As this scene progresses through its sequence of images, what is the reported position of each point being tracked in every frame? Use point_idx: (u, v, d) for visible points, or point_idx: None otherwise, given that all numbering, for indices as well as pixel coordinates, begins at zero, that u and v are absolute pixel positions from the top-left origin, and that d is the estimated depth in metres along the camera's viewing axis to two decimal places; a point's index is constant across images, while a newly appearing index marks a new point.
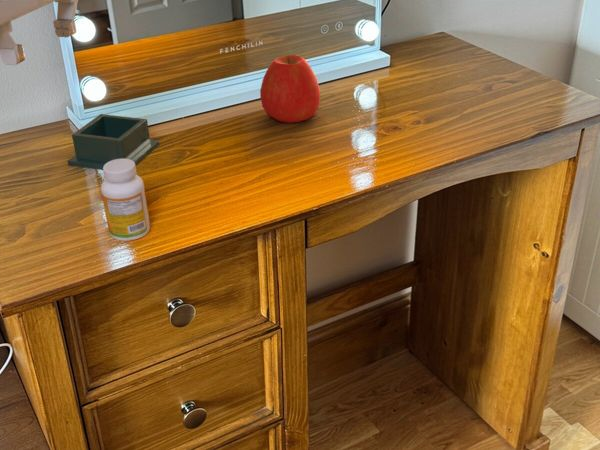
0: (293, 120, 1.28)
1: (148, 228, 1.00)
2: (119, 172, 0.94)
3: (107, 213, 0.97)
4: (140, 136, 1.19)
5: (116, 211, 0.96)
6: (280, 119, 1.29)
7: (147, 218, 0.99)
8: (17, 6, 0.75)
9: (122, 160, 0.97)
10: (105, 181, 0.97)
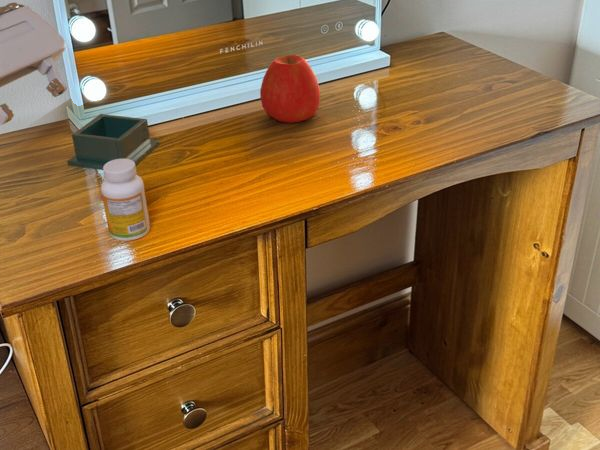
0: (293, 120, 1.28)
1: (148, 228, 1.00)
2: (119, 172, 0.94)
3: (107, 213, 0.97)
4: (140, 136, 1.19)
5: (116, 211, 0.96)
6: (280, 119, 1.29)
7: (147, 218, 0.99)
8: None
9: (122, 160, 0.97)
10: (105, 181, 0.97)
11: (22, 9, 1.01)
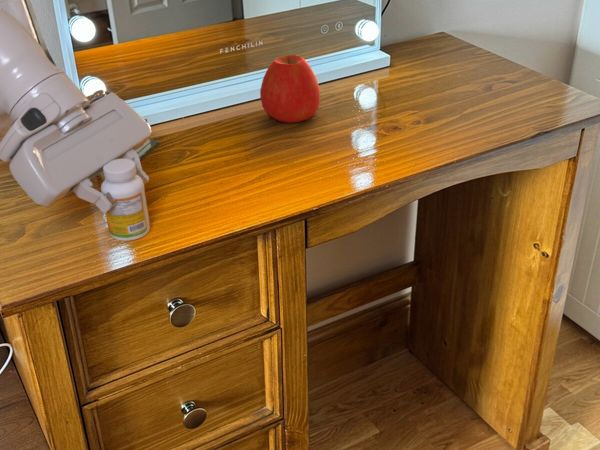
0: (293, 120, 1.28)
1: (148, 228, 1.00)
2: (119, 172, 0.94)
3: (107, 213, 0.97)
4: None
5: (116, 211, 0.96)
6: (280, 119, 1.29)
7: (147, 218, 0.99)
8: (78, 169, 0.93)
9: (122, 160, 0.97)
10: (105, 181, 0.97)
11: (110, 97, 1.01)
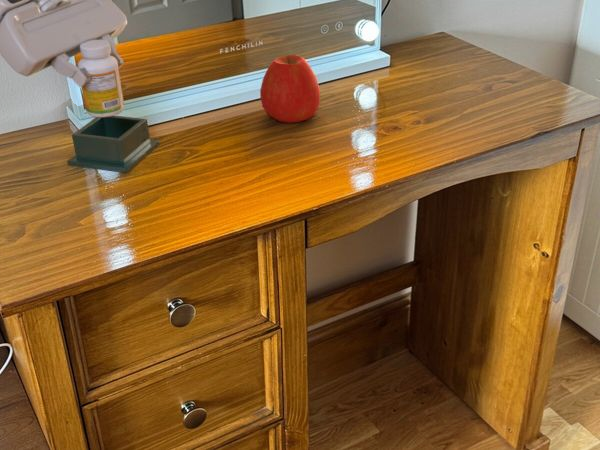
0: (293, 120, 1.28)
1: (122, 107, 1.08)
2: (94, 48, 1.02)
3: (83, 90, 1.05)
4: (140, 136, 1.19)
5: (91, 86, 1.04)
6: (280, 119, 1.29)
7: (121, 97, 1.07)
8: (56, 43, 1.00)
9: (98, 40, 1.05)
10: (82, 59, 1.05)
11: None
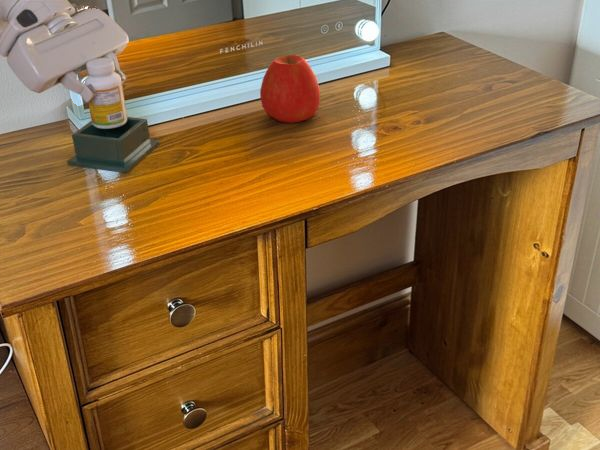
0: (293, 120, 1.28)
1: (125, 119, 1.17)
2: (100, 66, 1.12)
3: (90, 104, 1.15)
4: (140, 136, 1.19)
5: (97, 101, 1.14)
6: (280, 119, 1.29)
7: (124, 110, 1.17)
8: (65, 63, 1.10)
9: (103, 59, 1.14)
10: (88, 76, 1.14)
11: (93, 9, 1.19)
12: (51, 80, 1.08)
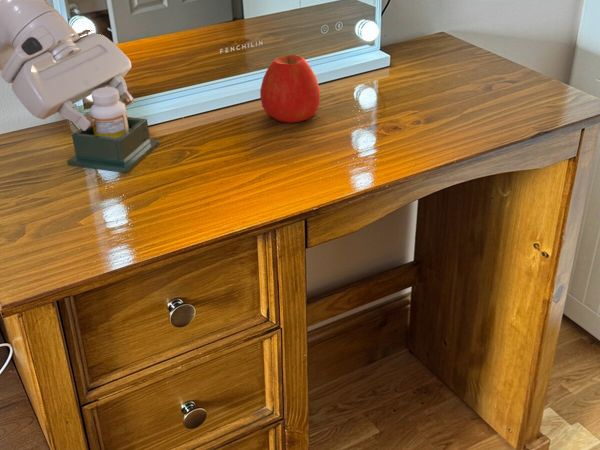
0: (293, 120, 1.28)
1: None
2: (105, 96, 1.14)
3: (95, 132, 1.17)
4: (140, 136, 1.19)
5: (102, 129, 1.16)
6: (280, 119, 1.29)
7: None
8: (68, 89, 1.12)
9: (107, 88, 1.17)
10: (93, 105, 1.16)
11: (96, 35, 1.21)
12: (55, 107, 1.10)
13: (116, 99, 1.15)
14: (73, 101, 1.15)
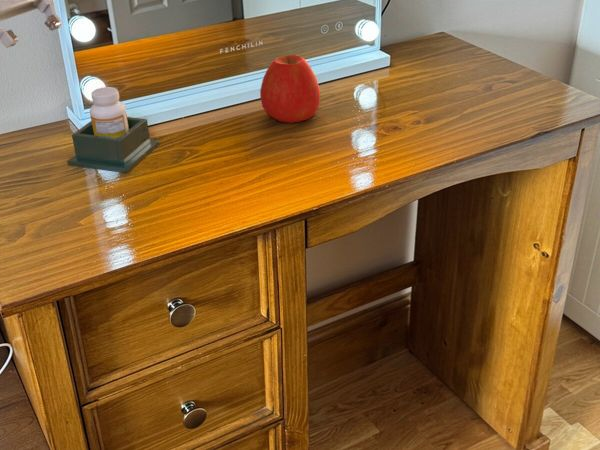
0: (293, 120, 1.28)
1: None
2: (105, 96, 1.14)
3: (95, 132, 1.17)
4: (140, 136, 1.19)
5: (102, 129, 1.16)
6: (280, 119, 1.29)
7: None
8: None
9: (107, 88, 1.17)
10: (93, 105, 1.16)
11: None
12: None
13: (116, 99, 1.15)
14: None
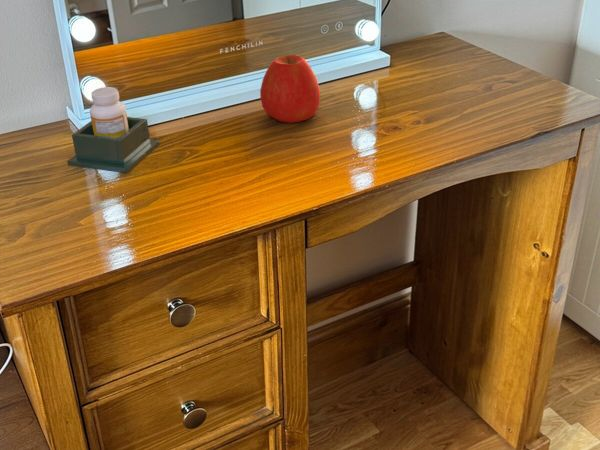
0: (293, 120, 1.28)
1: None
2: (105, 96, 1.14)
3: (95, 132, 1.17)
4: (140, 136, 1.19)
5: (102, 129, 1.16)
6: (280, 119, 1.29)
7: None
8: None
9: (107, 88, 1.17)
10: (93, 105, 1.16)
11: None
12: None
13: (116, 99, 1.15)
14: None
